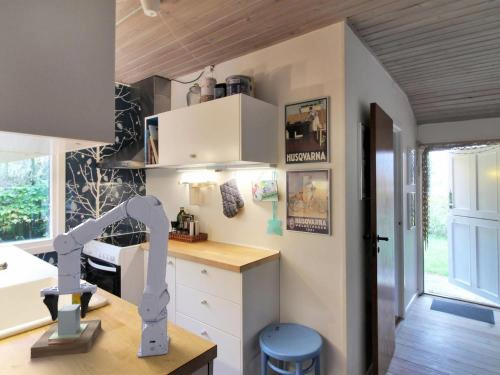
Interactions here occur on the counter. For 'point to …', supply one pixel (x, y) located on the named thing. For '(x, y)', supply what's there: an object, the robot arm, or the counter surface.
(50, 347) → the walnut stand
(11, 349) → the counter surface
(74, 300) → the supplement bottle
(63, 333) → the slate block
